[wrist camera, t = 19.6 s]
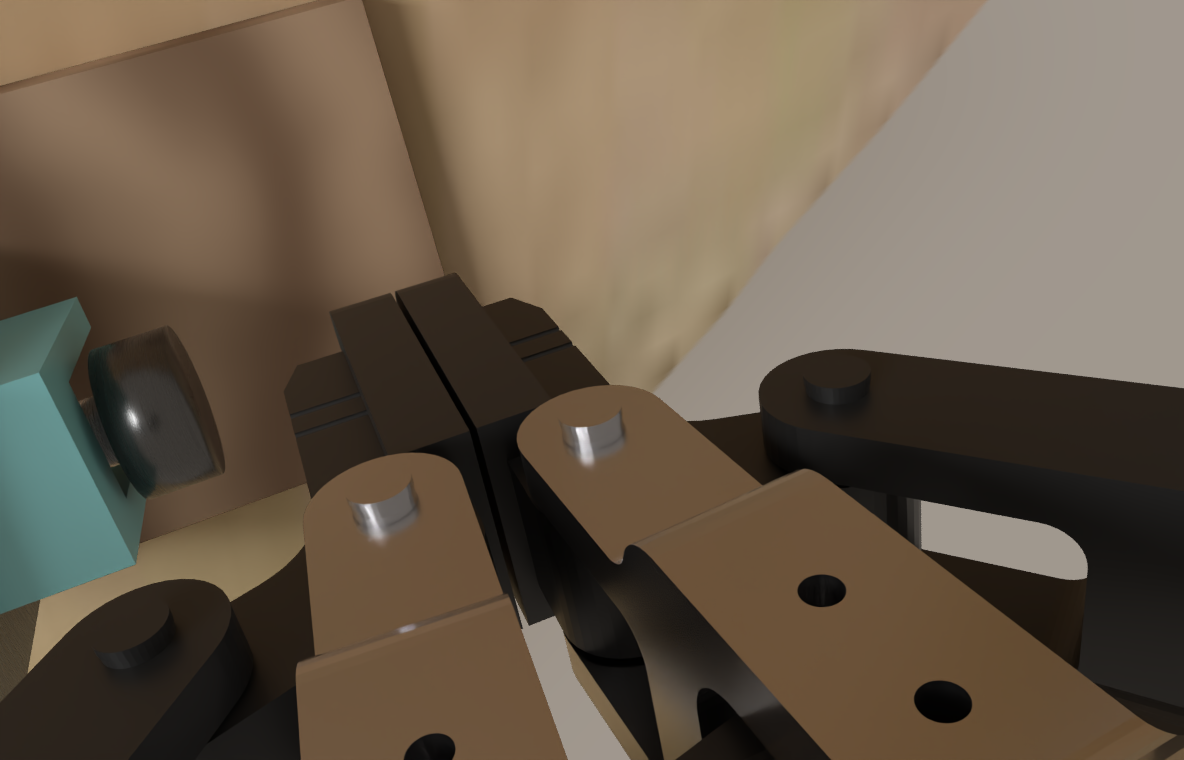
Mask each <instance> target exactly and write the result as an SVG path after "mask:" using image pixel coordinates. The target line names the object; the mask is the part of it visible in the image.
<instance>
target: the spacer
mask: <svg viewBox="0 0 1184 760" xmlns="http://www.w3.org/2000/svg"><path fill="white" fill-rule="evenodd" d="M90 329H91V326H90V324H89V322H88V320H87V317H86V315H85V313H84V311H83V309H82V307H81V305H80V303H79V301H78V298H77V297H75V298H71V299H68V300H65V301H62V302H59V303H55V304H52V305H49V306H46V307H43V308H39V309H36V310H33V311H30V312H27V313H23V314H20V315H17V316H14V317H11V318H7V319H4V320H1V321H0V614H2V613H5V612H7V611H10V610H13V609H15V608H18V607H21V606H24V605H26V604H29V603H32V602H35V601H37V600H40V599H43V598H45V597H48V596H51V595H54V594H56V593H59V592H62V591H65V590H67V589H70V588H73V587H75V586H78V585H81V584H84V583H86V582H89V581H92V580H94V579H97V578H100V577H103V576H105V575H108V574H111V573H114V572H116V571H119V570H122V569H124V568H127V567H130V566H133V565H135V564H136V560H137V554H138V548H139V542H140V535H141V529H142V523H143V517H144V510H145V504H146V499H145V498H144V497H143V496H141V495H140V494H139V493H138V491H137V490H136V489H135V488H134V486H133V485H132V484H131V482H130V481H129V479H128V478H127V476H126V474H125V473H124V471H123V469H122V467H121V466H120V465H117V466H114V467H110V465H109V463H108V461H107V458H106V456H105V454H104V452H103V450H102V448H101V446H100V444H99V442H98V440H97V438H96V436H95V434H94V432H93V430H92V428H91V426H90V424H89V422H88V420H87V418H86V416H85V414H84V412H83V410H82V408H81V406H80V404H79V402H78V400H77V398H76V396H75V394H74V392H73V390H72V388H71V386H70V384H69V380H70V378H71V375H72V373H73V370H74V368H75V365H76V363H77V361H78V358H79V356H80V353H81V351H82V348H83V346H84V344H85V341H86V339H87V336H88V334H89V331H90Z"/></svg>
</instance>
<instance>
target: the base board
mask: <svg viewBox="0 0 1184 760" xmlns="http://www.w3.org/2000/svg"><path fill="white" fill-rule="evenodd" d="M443 276H445V275H444V272H443V269H442V265H441V262H440V259H439V255H438V252H437V249H436V245H435V242H434V239H433V235H432V232H431V229H430V225H429V222H428V219H427V215H426V212H425V209H424V205H423V202H422V199H421V195H420V192H419V189H418V185H417V182H416V179H415V175H414V172H413V169H412V165H411V162H410V159H409V155H408V152H407V149H406V145H405V142H404V139H403V135H402V132H401V129H400V125H399V122H398V119H397V115H396V112H395V109H394V105H393V102H392V99H391V95H390V92H389V89H388V85H387V82H386V79H385V75H384V72H383V69H382V65H381V62H380V59H379V55H378V52H377V49H376V45H375V42H374V39H373V35H372V32H371V29H370V25H369V22H368V19H367V15H366V12H365V9H364V5H363V2H362V0H318V1H314V2H310V3H307V4H303V5H299V6H295V7H292V8H288V9H284V10H281V11H277V12H273V13H270V14H266V15H262V16H258V17H255V18H251V19H247V20H244V21H240V22H236V23H232V24H229V25H225V26H221V27H218V28H214V29H210V30H206V31H203V32H199V33H195V34H192V35H188V36H184V37H181V38H177V39H173V40H169V41H166V42H162V43H158V44H155V45H151V46H147V47H143V48H140V49H136V50H132V51H129V52H125V53H121V54H117V55H114V56H110V57H106V58H103V59H99V60H95V61H92V62H88V63H84V64H80V65H77V66H73V67H69V68H66V69H62V70H58V71H54V72H51V73H47V74H43V75H40V76H36V77H32V78H28V79H25V80H21V81H17V82H14V83H10V84H6V85H3V86H0V321H1V320H4V319H7V318H11V317H14V316H17V315H20V314H23V313H27V312H30V311H33V310H36V309H39V308H43V307H46V306H49V305H52V304H55V303H59V302H62V301H65V300H68V299H71V298H75V297H77V298H78V301H79V303H80V305H81V307H82V309H83V311H84V313H85V315H86V317H87V320H88V322H89V324H90V326H91V329H90V331H89V334H88V336H87V339H86V341H85V344H84V346H83V348H82V351H81V353H80V356H79V358H78V361H77V363H76V365H75V368H74V370H73V373H72V375H71V378H70V380H69V384H70V386H71V388H72V390H73V392H74V394H75V396H76V398H77V400H78V401H80V400H83V399H86V398H89V397H92V396H93V394H92V390H91V386H90V380H89V374H88V355H89V352H90V351H91V350H92V349H95V348H98V347H101V346H104V345H107V344H110V343H113V342H117V341H120V340H123V339H126V338H129V337H132V336H135V335H138V334H141V333H144V332H147V331H151V330H154V329H157V328H160V327H163V326H166V325H167V326H169V327H171V328H172V329H173V330H174V332H175V333H176V334H177V336H178V337H179V339H180V341H181V342H182V344H183V346H184V348H185V349H186V351H187V353H188V355H189V357H190V359H191V361H192V363H193V365H194V368H195V370H196V372H197V374H198V377H199V379H200V381H201V384H202V386H203V389H204V391H205V394H206V396H207V399H208V402H209V404H210V407H211V410H212V413H213V416H214V419H215V422H216V425H217V429H218V432H219V436H220V439H221V443H222V448H223V452H224V458H225V472H224V474H222V475H219V476H216V477H214V478H211V479H208V480H205V481H202V482H199V483H197V484H194V485H191V486H188V487H185V488H183V489H180V490H177V491H174V492H171V493H169V494H166V495H163V496H160V497H157V498H154V499H152V500H148V499H146V504H145V510H144V517H143V523H142V529H141V535H140V542H139V543H142V542H145V541H147V540H150V539H153V538H156V537H158V536H161V535H164V534H167V533H170V532H172V531H175V530H178V529H181V528H183V527H186V526H189V525H192V524H194V523H197V522H200V521H203V520H205V519H208V518H211V517H214V516H216V515H219V514H222V513H225V512H227V511H230V510H233V509H236V508H238V507H241V506H244V505H247V504H249V503H252V502H255V501H258V500H260V499H263V498H266V497H269V496H271V495H274V494H277V493H280V492H282V491H285V490H288V489H291V488H293V487H296V486H299V485H302V484H304V483H307V480H306V476H305V473H304V469H303V465H302V461H301V457H300V453H299V449H298V446H297V442H296V437H295V434H294V430H293V426H292V422H291V417H290V415H289V411H288V407H287V403H286V399H285V395H284V390H285V388H286V386H287V384H288V382H289V380H290V378H291V376H292V374H293V372H294V370H295V368H296V366H297V365H300V364H303V363H307V362H310V361H313V360H316V359H319V358H322V357H326V356H329V355H332V354H335V353H338V352H341V348H340V345H339V342H338V339H337V336H336V333H335V330H334V327H333V323H332V320H331V317H330V313H329V311H332V310H335V309H339V308H342V307H345V306H348V305H352V304H355V303H358V302H361V301H365V300H368V299H371V298H375V297H378V296H381V295H384V294H388V293H391V294H392V295H393V297H394V299H395V301H396V297H395V291H397V290H400V289H403V288H407V287H410V286H413V285H416V284H420V283H423V282H426V281H430V280H433V279H436V278H439V277H443Z"/></svg>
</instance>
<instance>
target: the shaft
mask: <svg viewBox="0 0 1184 760" xmlns="http://www.w3.org/2000/svg"><path fill="white" fill-rule="evenodd" d="M88 374H89V380H90V386H91V390H92V394H93V396H92V397H89V398H86V399H83V400H80V401H78V402H79V404H80V406H81V408H82V410H83V412H84V414H85V416H86V418H87V420H88V422H89V424H90V426H91V428H92V430H93V432H94V434H95V436H96V438H97V440H98V442H99V444H100V446H101V448H102V450H103V452H104V454H105V456H106V458H107V461H108V463H109V465H110V467H114V466H117V465H120V466H121V467H122V469H123V471H124V473H125V474H126V476H127V478H128V479H129V481H130V482H131V484H132V485H133V486H134V488H135V489H136V490H137V491H138V493H139V494H140V495H141V496H143V497H144V498H145V499H148V500H152V499H154V498H157V497H160V496H163V495H166V494H169V493H171V492H174V491H177V490H180V489H183V488H185V487H188V486H191V485H194V484H197V483H199V482H202V481H205V480H208V479H211V478H214V477H216V476H219V475H222V474H224V472H225V458H224V452H223V448H222V443H221V439H220V436H219V432H218V429H217V425H216V422H215V419H214V416H213V413H212V410H211V407H210V404H209V402H208V399H207V396H206V394H205V391H204V389H203V386H202V384H201V381H200V379H199V377H198V374H197V372H196V370H195V368H194V365H193V363H192V361H191V359H190V357H189V355H188V353H187V351H186V349H185V348H184V346H183V344H182V342H181V341H180V339H179V337H178V336H177V334H176V333H175V332H174V330H173V329H172V328H171V327H169V326H167V325H166V326H163V327H160V328H157V329H154V330H151V331H147V332H144V333H141V334H138V335H135V336H132V337H129V338H126V339H123V340H120V341H117V342H113V343H110V344H107V345H104V346H101V347H98V348H95V349H92V350H91V351H90V352H89V355H88Z"/></svg>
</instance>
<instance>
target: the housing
mask: <svg viewBox="0 0 1184 760" xmlns="http://www.w3.org/2000/svg"><path fill="white" fill-rule="evenodd" d="M39 604H40V600H37V601H35V602H32V603H29V604H26V605H24V606H21V607H18V608H15V609H13V610H10V611H7V612H5V613H2V614H0V702H1V701H2V700H3V699H4V698H5V697H6V696H7V695H8V694H9V693H10V692H11V691H12V690H13V689H14V688H15V687H16V686H17V685H18V683H19V682H20V681H21V680H22V679H23V678H24V677H25V676H26V675H27V673H28V667H29V661H30V656H31V650H32V644H33V638H34V633H35V627H36V621H37V616H38V610H39Z"/></svg>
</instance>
